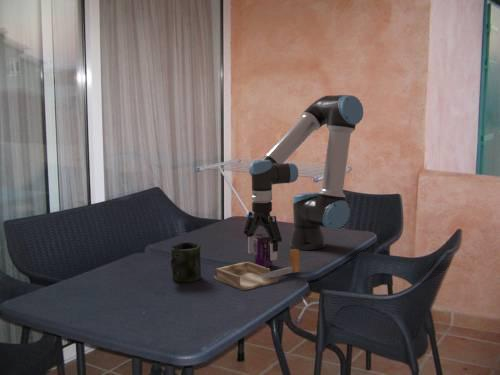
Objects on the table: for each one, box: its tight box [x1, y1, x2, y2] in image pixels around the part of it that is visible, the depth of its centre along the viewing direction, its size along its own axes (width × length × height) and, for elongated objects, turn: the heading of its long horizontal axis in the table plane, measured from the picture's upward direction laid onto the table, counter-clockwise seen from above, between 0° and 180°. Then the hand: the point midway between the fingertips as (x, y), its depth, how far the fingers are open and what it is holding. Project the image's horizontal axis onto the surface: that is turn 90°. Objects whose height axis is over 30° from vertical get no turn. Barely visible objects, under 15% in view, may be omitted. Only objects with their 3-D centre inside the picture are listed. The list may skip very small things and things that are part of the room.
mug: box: [169, 241, 202, 283], centre depth 214 cm, size 11×15×12 cm
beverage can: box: [253, 233, 274, 268], centre depth 229 cm, size 7×7×12 cm
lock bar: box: [262, 248, 300, 280], centre depth 213 cm, size 16×2×8 cm, turn 127°
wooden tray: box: [213, 260, 279, 291], centre depth 212 cm, size 15×18×4 cm
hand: (262, 256), depth 229 cm, fingers open, 13 cm apart
